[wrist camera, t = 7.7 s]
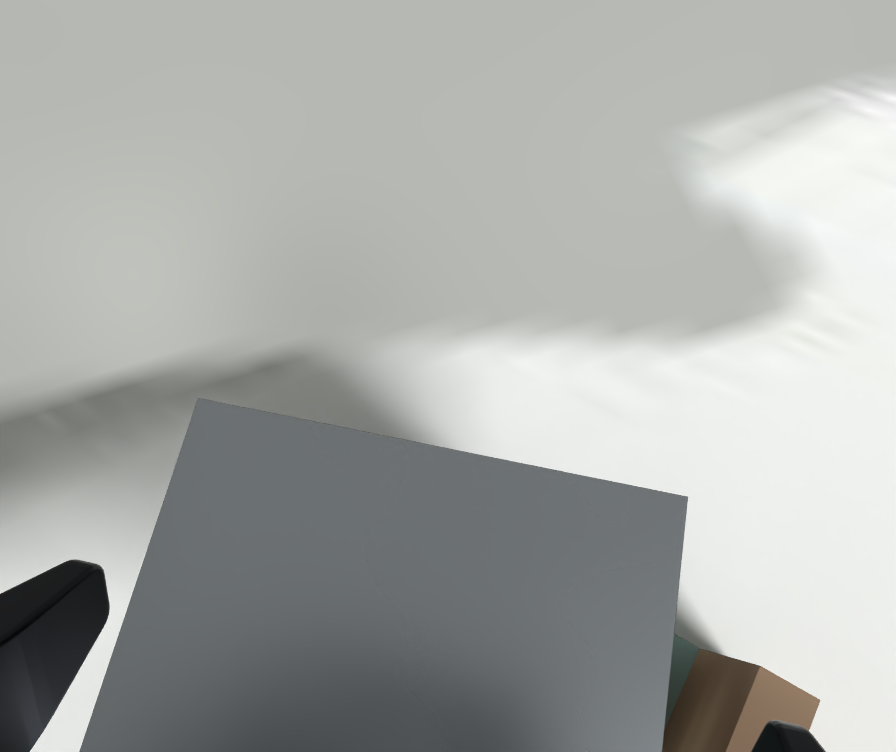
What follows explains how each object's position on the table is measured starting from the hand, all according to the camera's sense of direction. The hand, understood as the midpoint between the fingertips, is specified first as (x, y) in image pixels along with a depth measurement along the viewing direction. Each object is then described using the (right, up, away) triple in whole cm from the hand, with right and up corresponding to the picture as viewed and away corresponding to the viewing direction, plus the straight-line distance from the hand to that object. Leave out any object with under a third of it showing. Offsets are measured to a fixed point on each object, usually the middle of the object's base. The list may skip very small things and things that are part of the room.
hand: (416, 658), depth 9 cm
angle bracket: (0, -4, +7) cm, 8 cm away
